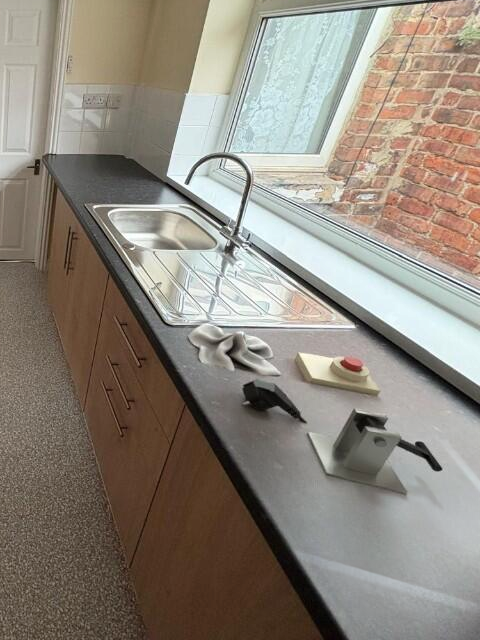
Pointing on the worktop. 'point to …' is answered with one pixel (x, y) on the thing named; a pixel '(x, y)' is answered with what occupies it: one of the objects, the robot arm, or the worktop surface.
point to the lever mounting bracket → (360, 452)
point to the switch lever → (405, 444)
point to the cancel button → (352, 364)
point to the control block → (335, 374)
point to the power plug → (269, 398)
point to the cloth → (232, 350)
